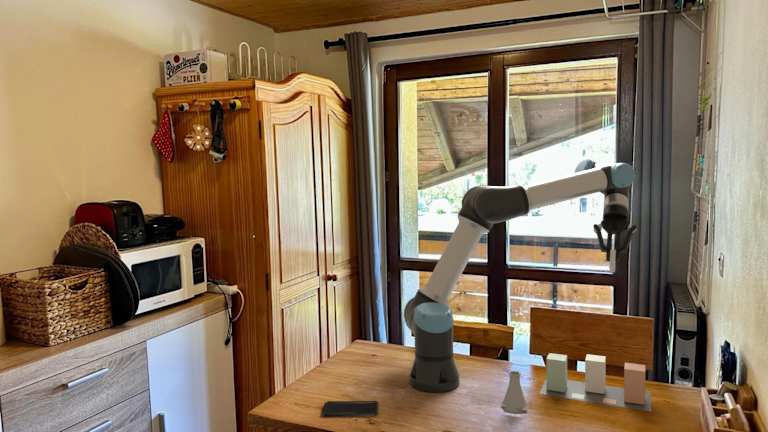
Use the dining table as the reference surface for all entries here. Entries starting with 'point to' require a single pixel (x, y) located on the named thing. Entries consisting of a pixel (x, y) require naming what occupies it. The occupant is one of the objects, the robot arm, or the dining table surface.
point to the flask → (514, 395)
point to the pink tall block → (634, 383)
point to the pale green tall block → (556, 372)
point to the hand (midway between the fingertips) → (612, 269)
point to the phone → (350, 409)
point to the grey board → (598, 395)
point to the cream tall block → (595, 373)
